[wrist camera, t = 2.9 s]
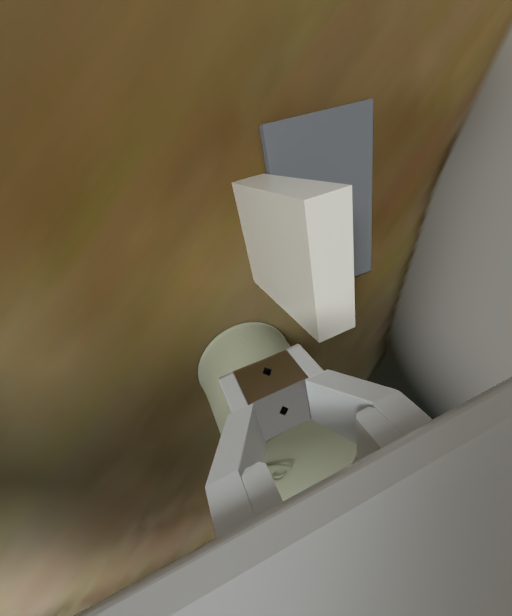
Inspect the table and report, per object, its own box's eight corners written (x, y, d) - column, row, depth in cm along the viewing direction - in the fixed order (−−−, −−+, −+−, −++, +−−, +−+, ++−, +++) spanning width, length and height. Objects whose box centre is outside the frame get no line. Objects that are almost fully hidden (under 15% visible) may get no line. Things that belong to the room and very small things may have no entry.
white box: (254, 281, 25) (319, 342, 17) (231, 182, 21) (303, 200, 13) (281, 271, 26) (358, 325, 17) (265, 172, 21) (355, 183, 13)
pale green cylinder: (212, 315, 25) (272, 420, 15) (299, 326, 29) (390, 413, 19) (187, 401, 28) (223, 536, 18) (269, 399, 32) (335, 507, 22)
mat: (287, 300, 27) (290, 302, 27) (258, 125, 20) (262, 124, 19) (366, 268, 29) (371, 270, 29) (367, 99, 22) (373, 98, 21)
